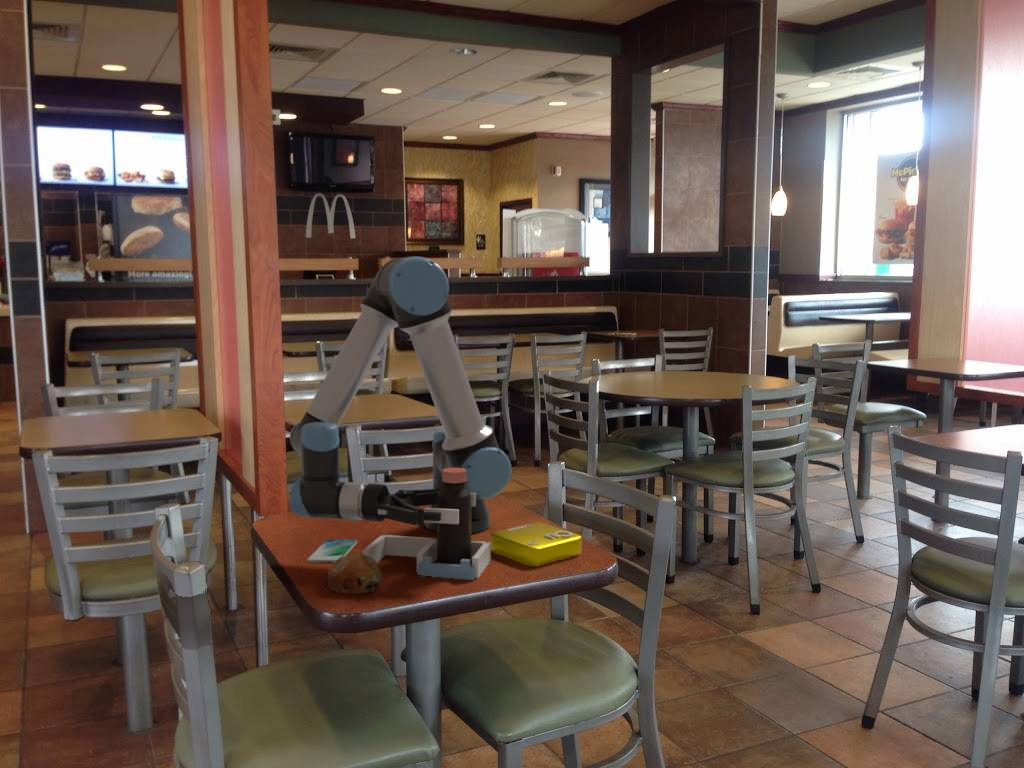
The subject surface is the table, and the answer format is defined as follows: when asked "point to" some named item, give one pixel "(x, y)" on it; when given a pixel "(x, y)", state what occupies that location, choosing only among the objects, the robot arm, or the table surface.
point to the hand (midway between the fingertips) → (467, 508)
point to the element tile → (535, 543)
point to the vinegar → (458, 536)
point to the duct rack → (431, 556)
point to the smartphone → (332, 550)
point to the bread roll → (354, 574)
